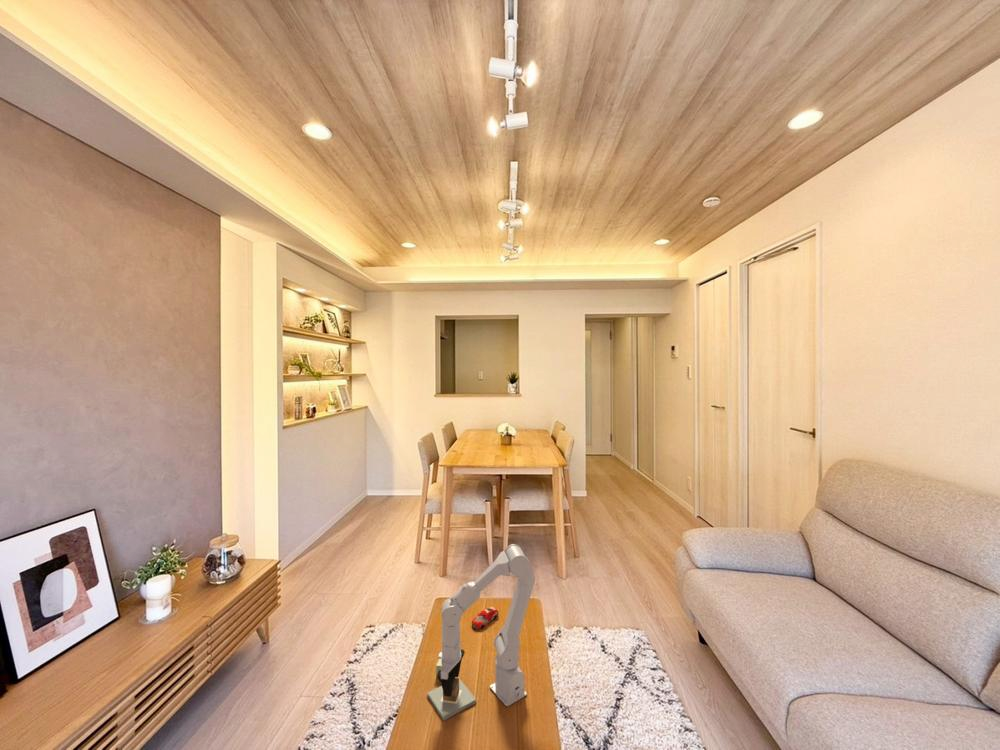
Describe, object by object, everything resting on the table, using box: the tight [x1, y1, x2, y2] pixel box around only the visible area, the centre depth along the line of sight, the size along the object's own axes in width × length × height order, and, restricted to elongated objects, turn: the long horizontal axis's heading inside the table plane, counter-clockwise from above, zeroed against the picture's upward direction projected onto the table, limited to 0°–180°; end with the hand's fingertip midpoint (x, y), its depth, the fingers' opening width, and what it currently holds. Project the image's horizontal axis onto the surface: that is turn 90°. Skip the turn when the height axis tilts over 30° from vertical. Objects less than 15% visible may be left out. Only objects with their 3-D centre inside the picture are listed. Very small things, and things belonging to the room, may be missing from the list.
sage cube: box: [435, 658, 451, 678], centre depth 132 cm, size 4×4×4 cm
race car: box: [471, 606, 499, 630], centre depth 161 cm, size 13×5×4 cm, turn 139°
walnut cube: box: [443, 677, 460, 702], centre depth 121 cm, size 4×4×4 cm
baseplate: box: [426, 676, 477, 721], centre depth 121 cm, size 11×11×1 cm
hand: (451, 685), depth 121 cm, fingers open, 7 cm apart
